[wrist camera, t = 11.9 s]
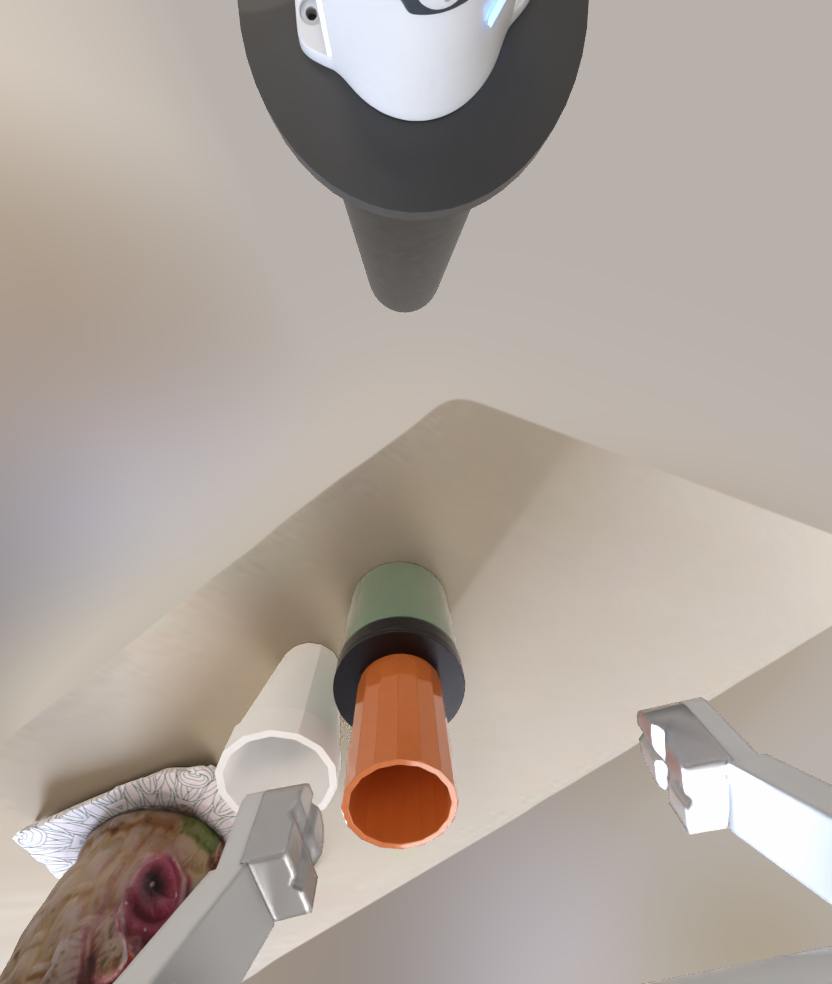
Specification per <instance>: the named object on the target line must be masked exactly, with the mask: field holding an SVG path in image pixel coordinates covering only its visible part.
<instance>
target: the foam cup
mask: <svg viewBox="0 0 832 984" xmlns="http://www.w3.org/2000/svg"><path fill="white" fill-rule="evenodd" d="M337 662H338V659H337V657H336V656H335V654H334V652H333V651H331V650H330V649H328V648H326V647H325V646H323V645H320V644H314V643H305V644H301V645H297V646H295V647H294V648H292V649H291V650H290V651H288V652H287V653H286V655H285V656H284V657H283V659H282V660H281V662H280V663H279V665H278V666H277V668H276V669H275V671H274V672H273V674H272V675H271V677H270V678H269V680H268V681H267V683H266V684H265V686H264V687H263V689H262V691H261V692H260V694H259V695H258V697H257V698H256V700H255V701H254V703H253V704H252V706H251V707H250V709H249V710H248V712H247V713H246V715H245V716H244V718H243V719H242V721H241V722H240V723H239V724H238V725H236V726H235V728H234V730H233V732H232V734H231V736H230V738H229V740H228V742H227V744H226V746H225V749H224V751H223V753H222V755H221V758H220V760H219V762H218V765H217V767H216V770H215V777H216V782H217V787H218V793H219V794H220V795H221V797H222V798H223V799H224V800H225V801H226V803H227V804H228V805H229V806H230V807H231V809H232V810H233V811H235V812H237V813H238V810H239V807H240V805H241V802H242V800H243V799H244V798H245V797H246V795H247V794H252V793H257V792H262V791H267V790H271V789H277V788H282V787H287V786H293V785H298V784H304V783H309V784H310V787H311V789H312V791H313V798H312V803H313V804H314V805H316V806H318V807H319V809H320V811H321V810H323V809H324V808H326V807H327V806H328V804H329V802H330V800H331V798H332V796H333V795H334V793H335V791H336V789H337V786H338V779H339V773H340V766H341V751H340V741H339V730H340V712H339V710H338V708H337V706H336V703H335V700H334V695H333V681H334V676H335V672H336V667H337Z"/></svg>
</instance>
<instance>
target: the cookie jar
mask: <svg viewBox="0 0 832 984" xmlns="http://www.w3.org/2000/svg"><path fill="white" fill-rule="evenodd" d="M215 770H216V767H214V766H213V765H209V766H206V767H205V765H201V766H194V767H172V768H165V769H163V770H160V771H158V772H156V773H153V774H151V775H149V776H146V777H143V778H139V779H138V780H134V781H131V782H128V783H126V784H123V785H120V786H116V787H115V788H114V789H113V790H111V791H108V792H106V793H104V794H101V795H99V796H96V797H94V798H91V799H89V800H86V801H84V802H82V803H80V804H77V805H75V806H73V807H71V808H68V809H66V810H64V811H62V812H60V813H57V814H55V815H53V816H50V817H48V818H46V819H43V820H40V821H34V822H33V823H32V824H31V825H29V826H27V827H25V828H23V829H21V830H19V831H18V832H16V834H15V835H14V836H13V837H12V838H13V839H14V840H15V841H16V842H17V843H18V844H19V845H20V846H21V847H22V848H25V849H27V850H28V851H29V854H30V855H31V856H32V857H34V858H36V860H37V861H38V862H40V863H43V864H44V865H45V866H46V867H47V868H48V870H49V871H50V872H51V873H53V875H54V876H55V877H56V878H59V879H60V880H59V881H58V883H57V884H56V885H55V887H54V888H53V890H52V891H51V893H50V894H49V896H48V897H47V899H46V901H45V902H44V904H43V905H42V906H41V907H40V909H39V910H38V911H37V913H36V914H35V915H34V917H33V918H32V920H31V921H30V923H29V924H28V926H27V927H26V929H25V930H24V932H23V933H22V935H21V937H20V939H19V941H18V943H17V945H16V947H15V949H14V952H13V954H12V956H11V958H10V960H9V961H8V963H7V965H6V967H5V969H4V970H3V972H2V974H1V976H0V984H113V983H114V981H115V980H116V979H117V978H118V977H119V976H120V974H121V973H122V972H123V971H124V970H125V969H126V968H127V966H128V965H129V964H130V963H131V962H132V961H133V959H134V958H135V957H136V956H137V955H138V954H139V952H140V951H141V950H142V949H143V948H144V947H145V946H146V944H147V943H148V942H149V941H150V940H151V939H152V937H153V936H154V935H155V934H156V933H157V932H158V930H159V929H160V928H161V927H162V926H163V925H164V923H165V922H166V921H167V920H168V919H169V918H170V917H171V915H172V914H173V913H174V912H175V911H176V910H177V908H178V907H179V906H180V905H181V904H182V903H183V901H184V900H185V899H186V898H187V897H188V896H189V894H190V893H191V892H192V891H193V890H194V889H195V888H196V886H197V885H198V884H199V883H200V882H201V881H202V879H203V878H204V877H205V876H206V875H207V874H208V872H209V871H212V870H216V868H217V866H218V863H219V860H220V858H221V855H222V852H223V850H224V847H225V844H226V842H227V839H228V836H229V834H230V831H231V829H232V826H233V823H234V821H235V818H236V815H237V812H235V811H233V810H232V809H231V807H230V806H229V805H228V804H227V803H226V801H225V800H224V799H223V798H222V797H221V795H220V794H219V793H218V787H217V782H216V777H215Z"/></svg>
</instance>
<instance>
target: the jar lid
mask: <svg viewBox="0 0 832 984" xmlns="http://www.w3.org/2000/svg"><path fill="white" fill-rule="evenodd" d="M392 654H410V655H414V656H417V657H420V658H422V659H424V660H425V661H427V662H428V663H429V664H431V665H432V666H433V667H434V668H435V670H436V671H437V673H438V675H439V677H440V679H441V684H442V689H443V694H444V701H445V708H446V715H447V722H448V723H449V722H450V721H451V720H452V718H453V717H454V716H455V714H456V713H457V711H458V710H459V708H460V706H461V704H462V700H463V697H464V692H465V680H464V674H463V669H462V664H461V660H460V656H459V653H458V651H457V649H456V647H455V645H454V644H453V642H452V641H451V639H450V638H449V637H448V636H447V635H446V634H445V633H444V632H442V631H441V630H440V629H438V628H437V627H435V626H434V625H432V624H430V623H427V622H425V621H422V620H419V619H414V618H408V617H392V618H386V619H382V620H378V621H375V622H373V623H370V624H368V625H367V626H365V627H363V628H361V629H360V630H359V631H357V632H356V633H355V634H354V635H353V636H352V637H351V638H350V639H349V640H348V641H347V643H346V644H345V645H344V647H343V649H342V651H341V653H340V655H339V658H338V662H337V667H336V672H335V676H334V681H333V695H334V700H335V703H336V706H337V708H338V710H339V712H340V714H341V715H342V717H343V718H344V719H345V720H346V722H347V723H348V724H349V725H350V726H352V725H353V717H354V710H355V703H356V696H357V689H358V683H359V680H360V677H361V675H362V674H363V672H364V671H365V669H366V668H367V667H368V666H369V665H370V664H372V663H373V662H374V661H376V660H378V659H379V658H382V657H384V656H387V655H392Z"/></svg>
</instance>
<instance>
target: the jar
mask: <svg viewBox="0 0 832 984" xmlns="http://www.w3.org/2000/svg"><path fill="white" fill-rule="evenodd" d="M392 617H408V618H414V619H419V620H422V621H425V622H427V623H430V624H432V625H434V626H435V627H437V628H438V629H440V630H441V631H442V632H444V633H445V634H446V635H447V636H448V637H449V638H450V639H451V641H452V642H453V644H454V645H455V647H456V649H457V651H458V648H457V643H456V638H455V634H454V629H453V624H452V620H451V615H450V611H449V606H448V601H447V597H446V593H445V590H444V588H443V586H442V584H441V583H440V581H439V580H438V579H437V578H436V576H435V575H433V574H432V573H431V572H430V571H428V570H427V569H425V568H423V567H421V566H419V565H416V564H412V563H407V562H393V563H387V564H384V565H381V566H379V567H376V568H374V569H373V570H371V571H370V572H368V573H367V574H366V575H365V576H364V577H363V578H362V579H361V580H360V581H359V583H358V584H357V586H356V588H355V590H354V592H353V596H352V600H351V605H350V609H349V614H348V619H347V623H346V628H345V632H344V637H343V641H342V646H341V651H342V649H343V647H344V645H345V644H346V643H347V641H348V640H349V639H350V638H351V637H352V636H353V635H354V634H355V633H356V632H357V631H359V630H360V629H361V628H363V627H365V626H367V625H368V624H370V623H373V622H375V621H378V620H382V619H386V618H392ZM341 651H340V653H341ZM458 653H459V652H458Z"/></svg>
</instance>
